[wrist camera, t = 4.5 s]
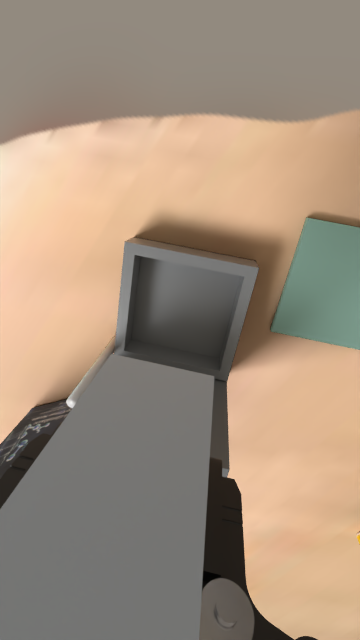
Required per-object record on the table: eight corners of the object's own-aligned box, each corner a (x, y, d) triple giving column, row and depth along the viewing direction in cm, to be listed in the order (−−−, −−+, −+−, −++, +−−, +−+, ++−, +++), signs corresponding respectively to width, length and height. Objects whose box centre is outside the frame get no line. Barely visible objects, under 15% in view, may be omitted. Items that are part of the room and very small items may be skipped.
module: (214, 376, 13) (191, 776, 4) (194, 454, 15) (149, 848, 6) (111, 353, 13) (-123, 680, 4) (104, 432, 15) (-71, 778, 6)
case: (255, 260, 23) (281, 312, 13) (223, 374, 28) (226, 479, 18) (121, 234, 24) (49, 265, 14) (111, 350, 28) (50, 439, 18)
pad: (433, 241, 21) (438, 242, 21) (378, 351, 25) (381, 354, 24) (306, 217, 22) (308, 217, 21) (270, 328, 25) (271, 331, 25)
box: (94, 388, 30) (35, 482, 20) (118, 432, 32) (74, 536, 22) (31, 406, 32) (-51, 498, 22) (57, 446, 34) (-9, 547, 24)
